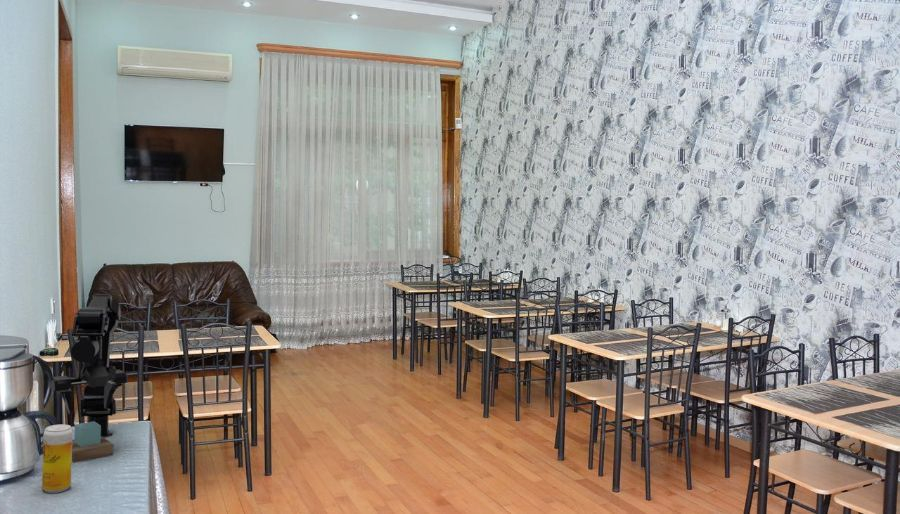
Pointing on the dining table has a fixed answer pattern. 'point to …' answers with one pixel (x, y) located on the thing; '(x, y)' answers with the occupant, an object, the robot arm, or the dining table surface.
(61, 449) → the beer can
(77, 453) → the walnut base
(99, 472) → the dining table surface
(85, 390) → the robot arm
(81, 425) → the block
